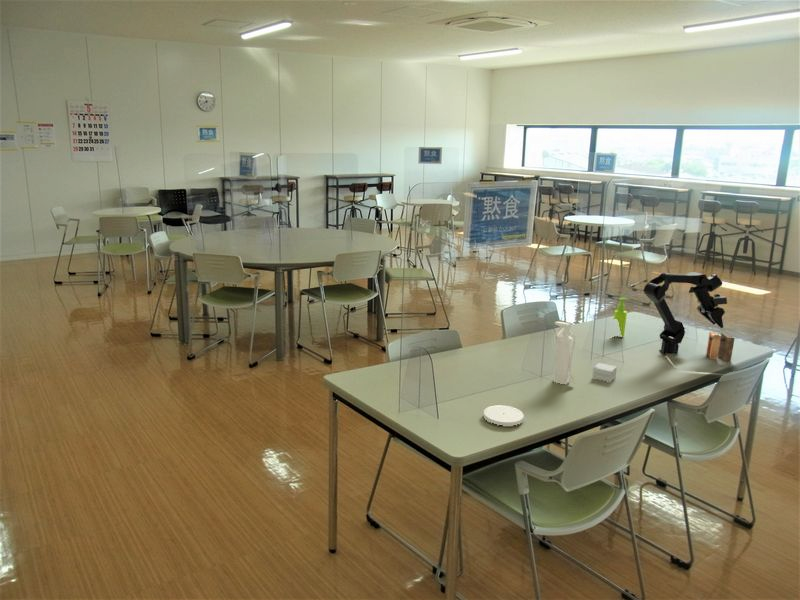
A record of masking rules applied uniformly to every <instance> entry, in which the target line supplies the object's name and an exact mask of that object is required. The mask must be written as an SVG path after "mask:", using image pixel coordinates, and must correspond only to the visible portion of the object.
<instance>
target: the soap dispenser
mask: <svg viewBox="0 0 800 600" xmlns="http://www.w3.org/2000/svg"><path fill="white" fill-rule="evenodd" d="M618 300H619V303H618V304H617V309H615V310H614V311H613V312H614V314H613V320H614V319H617V320H618V322H619V327H620V331H621V335H622V337H623V336H624V337H625V331H626V323H627V322H626V321H627V315H628V314H627V313H628V311H626V310H625V309H626V304H625V301H631V299H630V298H628V297H618ZM624 337H623V338H624Z"/></svg>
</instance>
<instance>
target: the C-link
mask: <svg viewBox="0 0 800 600" xmlns="http://www.w3.org/2000/svg"><path fill="white" fill-rule="evenodd" d="M709 337H712V338H713V339H712V340H709ZM720 339H721V335H720V334H718V332H710V331H709V333H708V339H707V346H706V352H705V356H707V357H709V358H708V359H709V360H715V361H716V360H718V357H719V356H718V351H719V345H720Z"/></svg>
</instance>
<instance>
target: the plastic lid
mask: <svg viewBox="0 0 800 600" xmlns="http://www.w3.org/2000/svg"><path fill="white" fill-rule="evenodd" d="M483 418H484V420H485V421H486V420H487V421H486V422H488V423H490V422H491V423H490V424H492V423H494V424H497V425H496V426H499V425H503V426H502V427H514V426H513V425H516V426H518V425H517V424H519V425H521V424H523V423H524V419H525V415H524V412H523V411H521V410H520V409H518V408H515V407H514V406H511V405H510V406H509V405H498V404H497V405H490V406H488V407H486V408H484V410H483ZM520 423H521V424H520ZM494 424H493V425H494Z"/></svg>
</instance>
